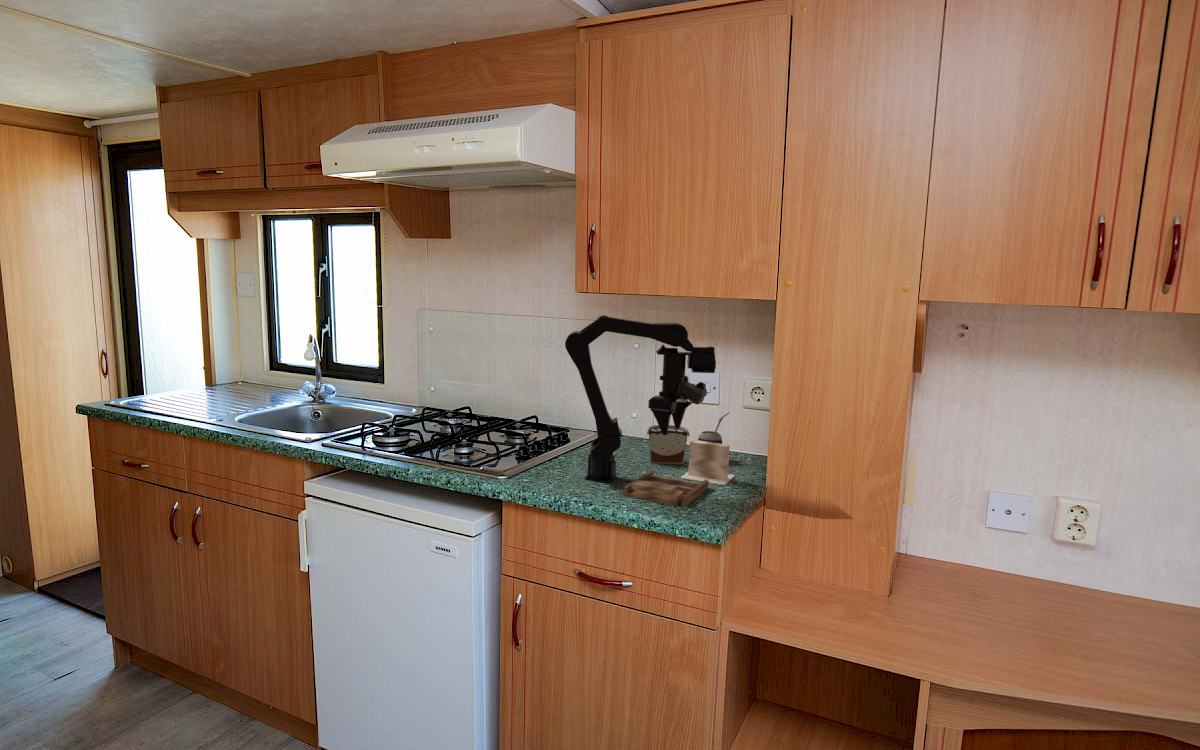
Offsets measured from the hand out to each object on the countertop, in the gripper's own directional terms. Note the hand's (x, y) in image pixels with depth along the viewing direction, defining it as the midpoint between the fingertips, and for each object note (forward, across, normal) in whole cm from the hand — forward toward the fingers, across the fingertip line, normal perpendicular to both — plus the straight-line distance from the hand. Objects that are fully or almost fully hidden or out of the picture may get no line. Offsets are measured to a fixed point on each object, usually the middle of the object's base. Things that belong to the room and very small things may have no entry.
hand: (671, 431), depth 184 cm
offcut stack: (+14, -16, -3) cm, 21 cm away
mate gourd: (+13, +26, -3) cm, 29 cm away
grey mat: (+13, +8, -8) cm, 17 cm away
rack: (+13, -10, -3) cm, 17 cm away
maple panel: (+13, +8, -8) cm, 17 cm away
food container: (+13, +18, +8) cm, 24 cm away
